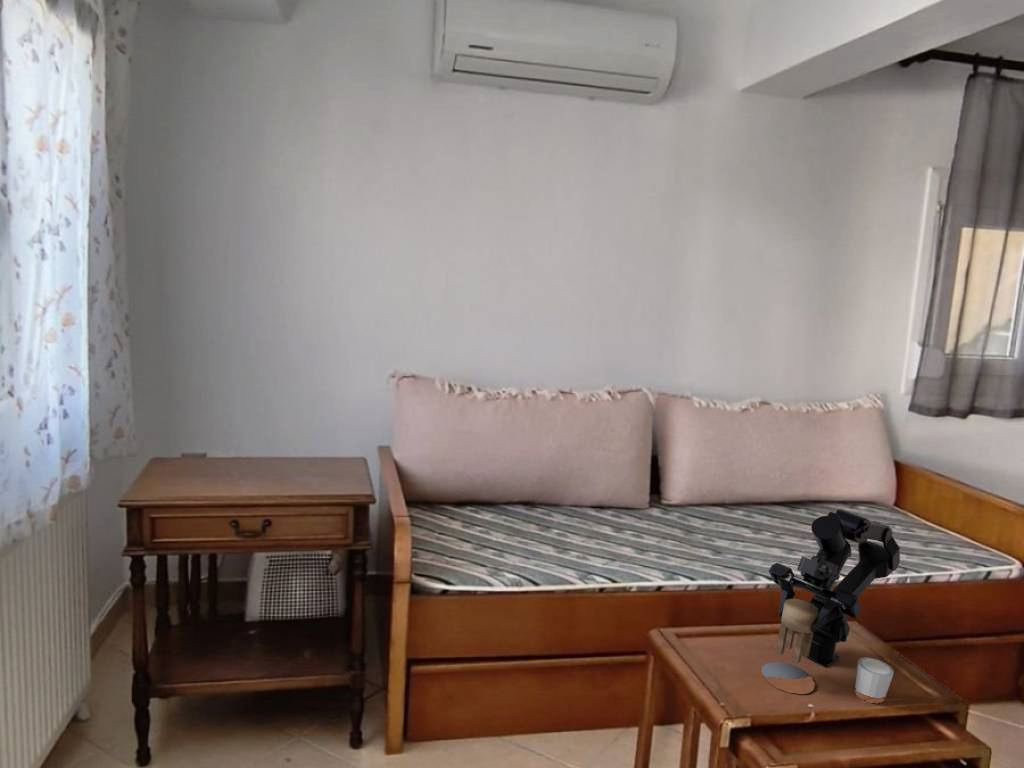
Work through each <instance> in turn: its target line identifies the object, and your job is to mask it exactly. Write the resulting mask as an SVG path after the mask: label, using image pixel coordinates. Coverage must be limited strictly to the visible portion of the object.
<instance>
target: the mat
mask: <svg viewBox="0 0 1024 768" xmlns="http://www.w3.org/2000/svg"><path fill="white" fill-rule="evenodd" d="M761 672H762V674H763V676H766V677H767V678H768V677H774V678H775V677H776V678H779V677H780V678H781V677H782V678H783V679H785V678H787V679H788V680H789V679H793V678H794V679H800V678H802V677H804V678H806V677H808V676H809V677H810V676H811V674H809V672H807V671H806V670H804V669H802V668H800V667H798V666H796V665H794V664H790V663H786V662H781V661H779V662H778V661H772V662H767V663H765V664H764V665H762V667H761V671H760V673H761ZM762 674H761V675H762ZM805 676H806V677H805ZM782 678H781V679H782ZM802 679H803V678H802Z"/></svg>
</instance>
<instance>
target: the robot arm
mask: <svg viewBox="0 0 1024 768" xmlns="http://www.w3.org/2000/svg"><path fill="white" fill-rule="evenodd" d="M810 528H811V533H812V534H813V537H814V539H815V542H816V544H817V546H818V548H819V549H818V551H817V553H816V555H815V554H814V555H812V556H811V558H807V557H806V556H802V555H801V558H800V561H799V563H798V566H797V569H796V571H798V572H799V573H800V576H801V577H803V578H801V577H799V576H797V575H795V573H794V572H793V570H792V568H790V567H789V566H786V565H784V564H782V563H779V562H775V563H773V564H771V566H770V568H769V569H768V573H769V575H770V578H771V579H772V581H773V583H774V584H776V585H777V586H779V587H780V590H781V591H780V602H779V609H778V617H780V618H782V612H783V607H784V602H785V601H786V600H788V599H794V597H795V596H796V591H795V590H794V588H795V587H797V588H800V589H802V590H804V591H806V592H809V593H811V594H814V595H813V596H811V599H810V600H807V602H809V603H811V604H813V605H814V606H816V607H817V608H818V610H819V612H818V617H817V618H816V620H815V621H814V623H813V625H812V627H811V632H813V637H812V642H811V647H810V652H809V656H808V657H807V659H810V660H811V661H813V662H816V663H818V664H819V665H821V666H823V667H825V668H827V667H828V666H830V665H832V664H833V663H835V662H837V661H839V660H840V655H838V654H835V652H836V648H837V647H836V646H837V644H838V643H840V642H841V643H846V642H847V639H848V636H849V634H850V629H851V627H850V626H849V625H850V624H849V623H848V620H847V616H848V617H851V618H853V619H858V617H859V615H860V613H861V610H862V607H861V605H860V601H859V599H858V598H859V597H860V596H861V595H862V594H863V593H864V591H865V590H866V589H867V588H869V586H870V585H871V583H873V582H874V580H875V579H883V578H887V577H888V576H890V575H891V574H892V573H893V572H895V571H897V569H898V567H899V564H900V560H901V555H900V554H901V549H900V546H899V544H898V543H897V542H896V539H894V537H893V529H892V528H891V527H890V526H889V525H886V524H884V523H880V522H877V521H875V520H874V521H871V520H869V519H868V518H867V517H864V516H861V515H858V514H856V513H852V512H850V511H847V510H843V509H842V508H841V509H837V510H836V512H833V511H829V512H828V514H827V515H821V516H819V517H817V518H816V519H814V520H813V522H812V523H811V527H810ZM870 540H872V541H870ZM849 541H850V542H854V543H857V547H858V561H857V564H855V566H854V567H853V568H851V570H850V571H849V572H848V573H847V574H846V575H845V576H844V577H843V578H842V579H841V580H840V581H839V579H840V578H841V575H840V573H841V572H842V570H843V568H844V567H845V564H846V562H847V561H848V559H849V558H851V557H852V551H853V550H852V548H851V547H852V546H851V543H849ZM873 541H877V542H880V543H882V544H878V543H875V542H873ZM836 581H839V582H838V584H837V585H836V586H835V587H834V584H836ZM833 587H834V588H833Z"/></svg>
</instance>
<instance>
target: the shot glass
mask: <svg viewBox="0 0 1024 768" xmlns="http://www.w3.org/2000/svg"><path fill="white" fill-rule="evenodd" d="M893 677H894V669H893V668H892V667H891V665H888V664H887V663H886V662H885V661H882V660H880V659H876V658H873V657H867V656H866V657H861V658H859V659H858V660H857V667H856V679H855V688H856V690H857V691H858V692H860V693H862V694H864V695H867V696H870V697H873V698H874V697H875V698H882V697H885V698H886V696H887V694H888V690H889V688H890V685H891V682H892V680H893ZM855 688H854V689H855Z"/></svg>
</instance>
